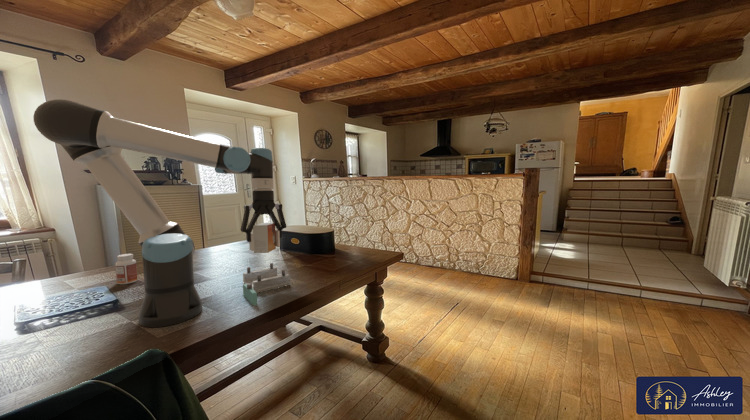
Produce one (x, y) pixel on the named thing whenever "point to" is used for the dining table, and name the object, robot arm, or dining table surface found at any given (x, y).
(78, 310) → the dining table surface
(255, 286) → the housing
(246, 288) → the gate
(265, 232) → the small box
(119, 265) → the pill bottle
